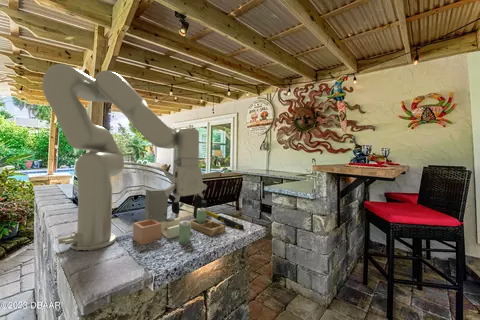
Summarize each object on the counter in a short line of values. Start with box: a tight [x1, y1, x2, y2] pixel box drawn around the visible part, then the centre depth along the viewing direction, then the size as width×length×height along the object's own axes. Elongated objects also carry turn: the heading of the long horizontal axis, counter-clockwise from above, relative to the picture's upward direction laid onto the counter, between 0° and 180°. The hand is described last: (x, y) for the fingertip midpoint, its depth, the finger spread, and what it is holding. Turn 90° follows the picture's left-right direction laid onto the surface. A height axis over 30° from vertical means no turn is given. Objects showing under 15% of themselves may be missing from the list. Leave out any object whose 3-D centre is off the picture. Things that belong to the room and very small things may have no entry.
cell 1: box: [178, 220, 192, 244], centre depth 73 cm, size 4×4×8 cm
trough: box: [188, 218, 227, 237], centre depth 87 cm, size 8×15×3 cm, turn 50°
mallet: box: [192, 199, 245, 231], centre depth 95 cm, size 29×6×10 cm, turn 56°
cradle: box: [159, 217, 192, 239], centre depth 81 cm, size 10×9×5 cm
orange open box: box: [132, 219, 162, 246], centre depth 75 cm, size 7×7×6 cm
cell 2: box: [196, 208, 207, 224], centre depth 89 cm, size 4×4×8 cm
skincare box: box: [143, 188, 169, 222], centre depth 91 cm, size 8×7×16 cm
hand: (187, 210), depth 73 cm, fingers open, 9 cm apart
